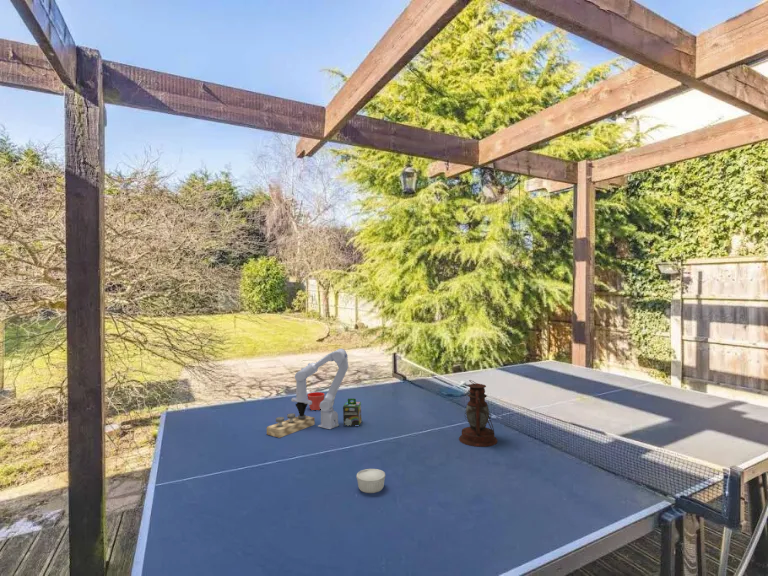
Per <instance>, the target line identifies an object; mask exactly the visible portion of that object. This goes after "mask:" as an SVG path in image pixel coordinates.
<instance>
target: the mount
mask: <svg viewBox="0 0 768 576" xmlns="http://www.w3.org/2000/svg"><path fill="white" fill-rule="evenodd" d="M315 419H316V418H315V417H313V416H309V415H306V418H305V419H298V416H295V418H293V423H290V422H289V419H287V420H284V421H283V422H282V427H278V422H276V423H275V424H270V425H268V426H267V427H266V435H268V436H271V437H274V438H275V437H276V438H278V439H281V438H283V437H285V436H289V435H291V434H294V433H296V432H299V431H301V430H304V429H307V428H310V427H311V426H314V425H315V423H316V421H315Z"/></svg>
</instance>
